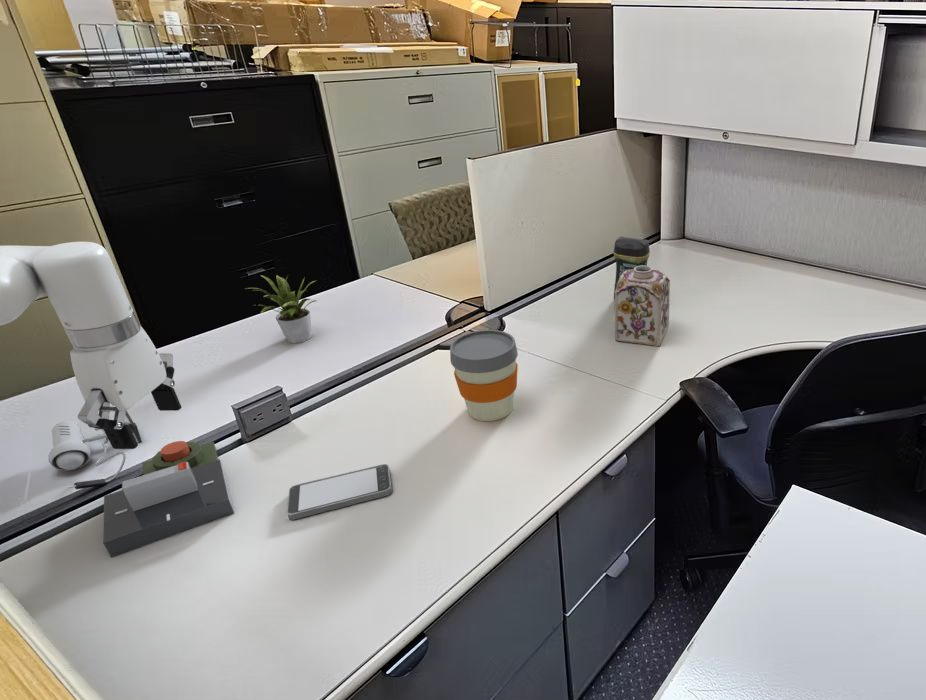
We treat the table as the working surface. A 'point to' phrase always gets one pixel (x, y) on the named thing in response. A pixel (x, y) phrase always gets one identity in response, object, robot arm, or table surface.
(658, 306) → the decorative jar
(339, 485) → the smartphone
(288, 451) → the table surface
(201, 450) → the button housing
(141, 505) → the bevelled grey block
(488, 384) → the reusable coffee cup
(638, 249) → the coffee jar
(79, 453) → the clip-on lamp
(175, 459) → the button
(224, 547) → the table surface
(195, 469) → the dial base
